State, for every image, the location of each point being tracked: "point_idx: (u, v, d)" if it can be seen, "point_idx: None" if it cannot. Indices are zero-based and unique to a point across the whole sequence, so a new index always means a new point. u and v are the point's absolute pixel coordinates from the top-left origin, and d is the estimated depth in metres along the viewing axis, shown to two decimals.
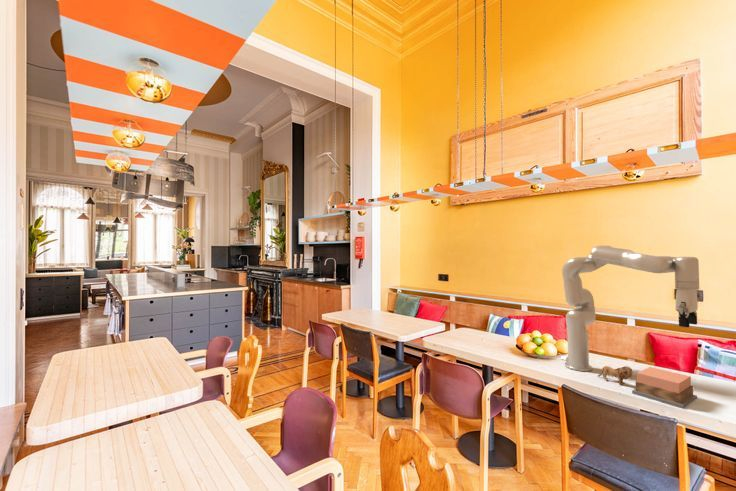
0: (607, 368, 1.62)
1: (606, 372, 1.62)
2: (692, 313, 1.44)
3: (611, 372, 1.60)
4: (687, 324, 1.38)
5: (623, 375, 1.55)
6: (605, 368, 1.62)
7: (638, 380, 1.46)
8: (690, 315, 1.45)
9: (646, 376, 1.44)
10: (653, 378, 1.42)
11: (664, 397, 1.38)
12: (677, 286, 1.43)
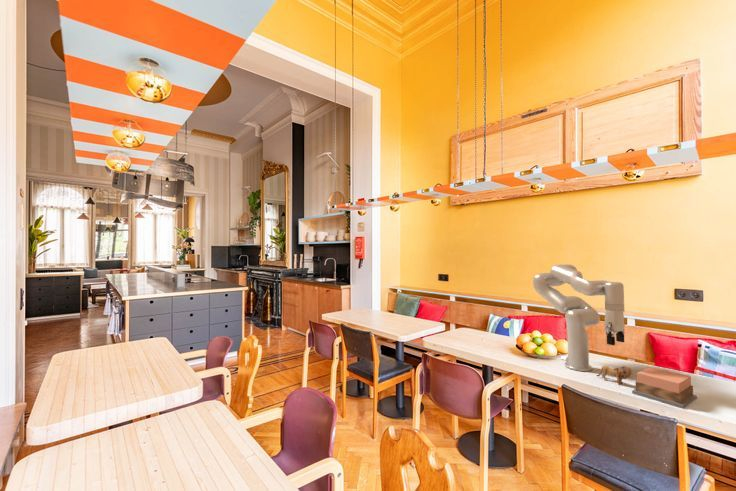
0: (606, 368, 1.62)
1: (605, 372, 1.62)
2: (620, 332, 1.62)
3: (610, 372, 1.60)
4: (613, 342, 1.56)
5: (622, 375, 1.55)
6: (604, 368, 1.63)
7: (638, 380, 1.46)
8: (618, 334, 1.62)
9: (646, 376, 1.44)
10: (653, 378, 1.42)
11: (664, 397, 1.38)
12: (606, 308, 1.61)
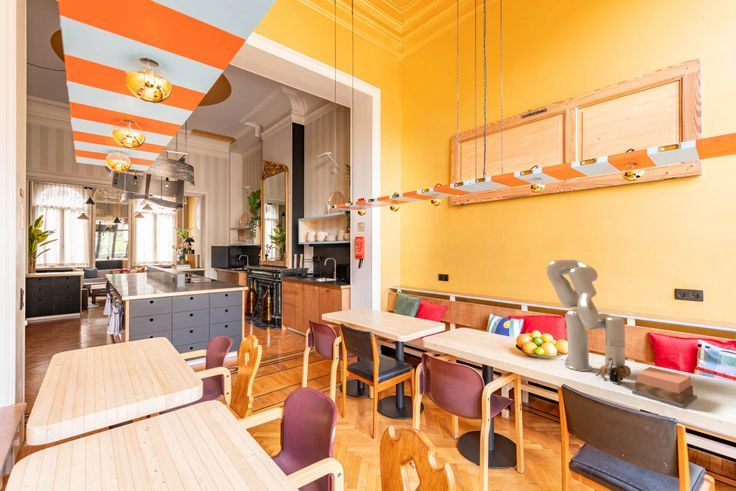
0: (605, 367, 1.62)
1: (604, 371, 1.63)
2: None
3: None
4: (616, 380, 1.57)
5: (621, 374, 1.56)
6: (603, 367, 1.63)
7: (638, 380, 1.46)
8: None
9: (646, 376, 1.44)
10: (653, 378, 1.42)
11: (664, 397, 1.38)
12: (607, 343, 1.60)
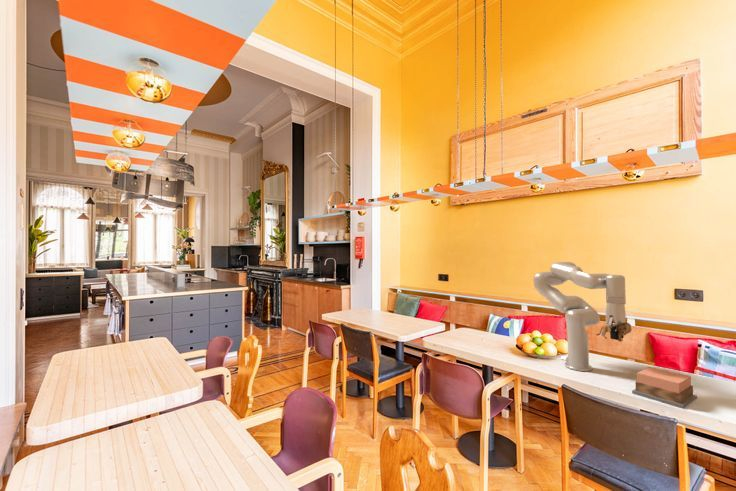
0: (606, 326, 1.62)
1: (605, 330, 1.62)
2: None
3: None
4: (616, 337, 1.57)
5: (622, 331, 1.56)
6: (604, 326, 1.63)
7: (638, 380, 1.46)
8: None
9: (646, 376, 1.44)
10: (653, 378, 1.42)
11: (664, 397, 1.38)
12: (607, 301, 1.60)
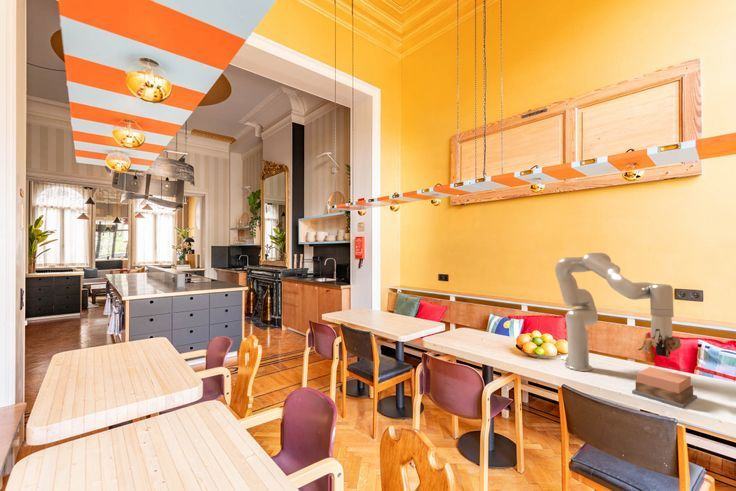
0: (650, 340, 1.47)
1: (649, 344, 1.47)
2: None
3: None
4: (664, 353, 1.42)
5: (670, 346, 1.41)
6: (648, 340, 1.48)
7: (638, 380, 1.46)
8: None
9: (646, 376, 1.44)
10: (653, 378, 1.42)
11: (664, 397, 1.38)
12: (652, 313, 1.45)
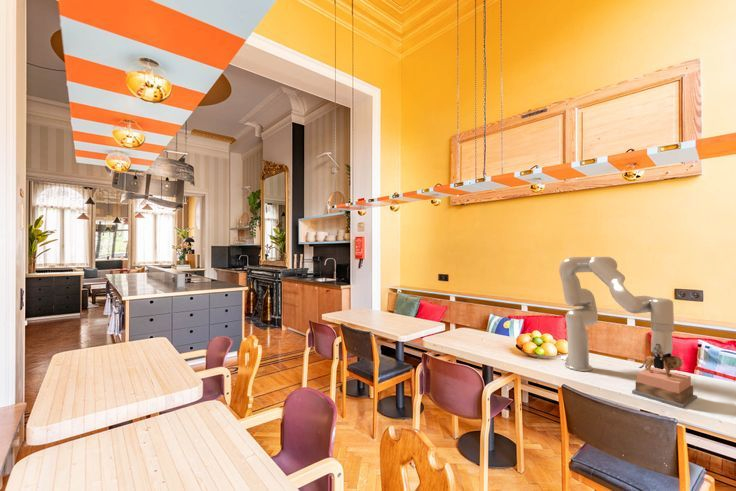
0: (651, 358, 1.47)
1: (650, 363, 1.47)
2: (667, 354, 1.47)
3: None
4: (662, 366, 1.41)
5: (671, 366, 1.41)
6: (649, 358, 1.48)
7: (638, 380, 1.46)
8: (666, 355, 1.47)
9: (646, 376, 1.44)
10: (653, 378, 1.42)
11: (664, 397, 1.38)
12: (652, 327, 1.45)
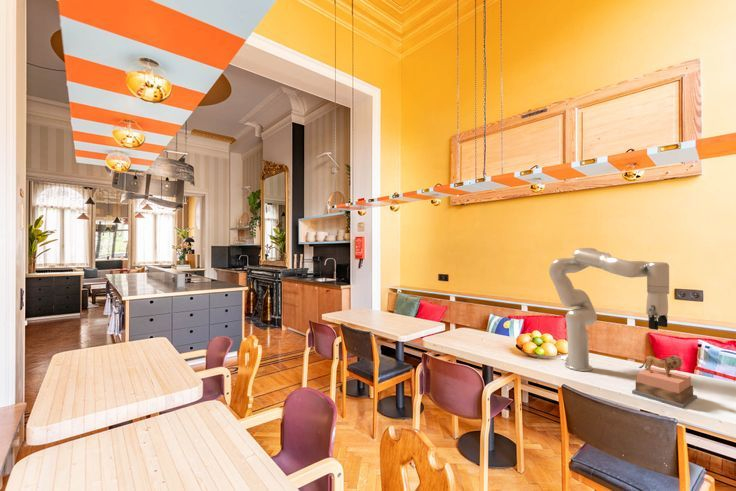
0: (651, 358, 1.47)
1: (650, 363, 1.47)
2: (663, 316, 1.50)
3: (656, 363, 1.45)
4: (656, 327, 1.45)
5: (671, 366, 1.41)
6: (649, 358, 1.48)
7: (638, 380, 1.46)
8: (661, 318, 1.51)
9: (646, 376, 1.44)
10: (653, 378, 1.42)
11: (664, 397, 1.38)
12: (648, 290, 1.49)
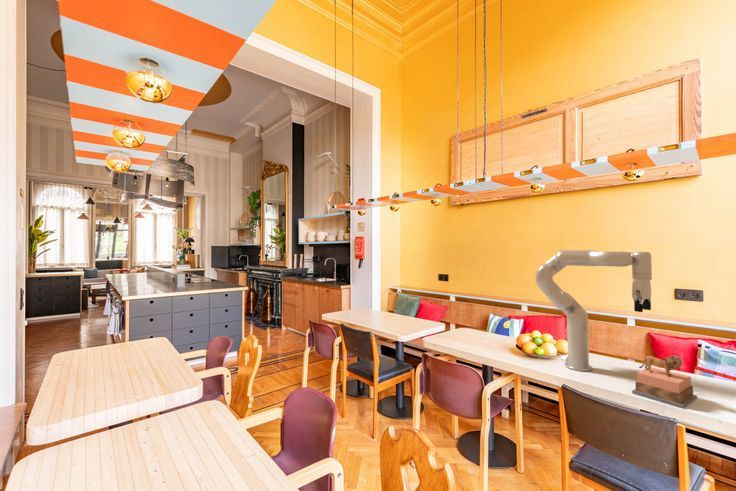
0: (651, 358, 1.47)
1: (650, 363, 1.47)
2: (647, 300, 1.68)
3: (656, 363, 1.45)
4: (641, 309, 1.62)
5: (672, 366, 1.41)
6: (649, 358, 1.48)
7: (638, 380, 1.46)
8: (645, 302, 1.68)
9: (646, 376, 1.44)
10: (653, 378, 1.42)
11: (664, 397, 1.38)
12: (633, 277, 1.66)
